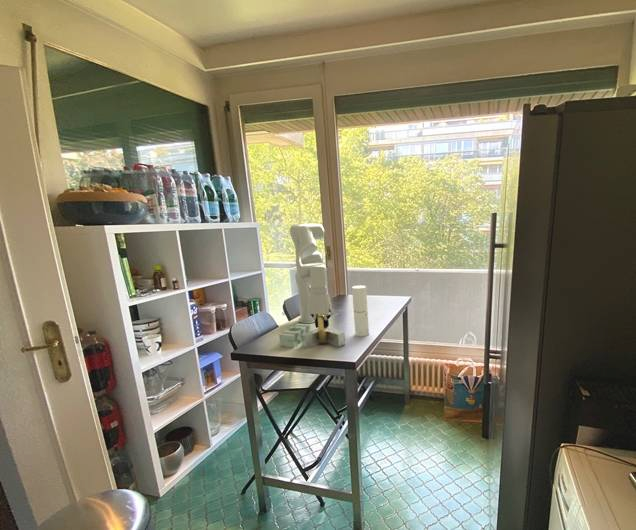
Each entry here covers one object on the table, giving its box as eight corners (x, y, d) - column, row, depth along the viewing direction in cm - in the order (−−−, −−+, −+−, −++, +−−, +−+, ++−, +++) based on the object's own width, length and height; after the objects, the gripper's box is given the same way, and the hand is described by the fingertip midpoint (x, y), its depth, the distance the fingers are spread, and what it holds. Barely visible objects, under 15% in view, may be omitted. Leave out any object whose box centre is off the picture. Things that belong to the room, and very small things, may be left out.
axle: (321, 339, 165) (319, 314, 164) (328, 340, 163) (326, 314, 162) (317, 342, 162) (315, 316, 160) (325, 343, 160) (323, 317, 158)
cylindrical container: (353, 333, 175) (349, 286, 172) (364, 330, 178) (361, 284, 175) (359, 337, 169) (355, 289, 166) (371, 334, 171) (368, 286, 168)
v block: (304, 340, 171) (303, 328, 170) (345, 338, 169) (344, 326, 168) (301, 348, 160) (299, 336, 159) (345, 346, 158) (344, 334, 157)
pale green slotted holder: (298, 334, 181) (297, 323, 180) (311, 335, 178) (310, 324, 177) (280, 346, 165) (279, 334, 164) (294, 347, 162) (293, 335, 161)
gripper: (300, 291, 160) (303, 328, 162) (331, 292, 152) (334, 330, 155) (307, 288, 166) (310, 323, 169) (338, 289, 159) (340, 325, 161)
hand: (322, 326), depth 162 cm, fingers closed on axle, 4 cm apart
